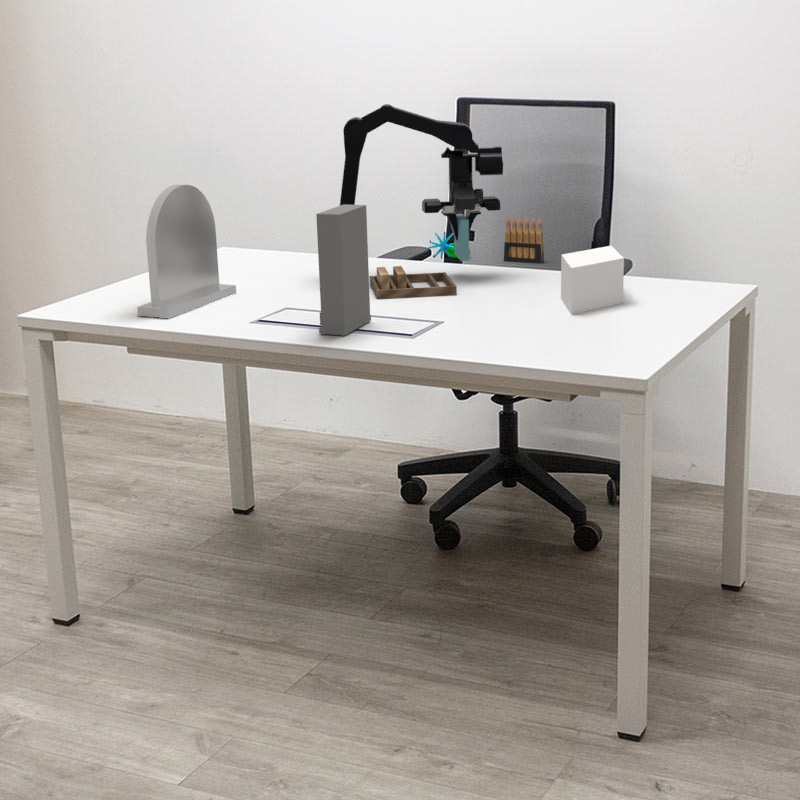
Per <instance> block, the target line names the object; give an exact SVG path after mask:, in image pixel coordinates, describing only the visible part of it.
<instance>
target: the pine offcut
mask: <svg viewBox="0 0 800 800" xmlns="http://www.w3.org/2000/svg"><path fill="white" fill-rule="evenodd" d="M389 275H390V273H389V272H388V270H387V268H386V267H385V266H378V267H376V276H377V285H378V287H379V289H380V290H384V289H390V285H389Z"/></svg>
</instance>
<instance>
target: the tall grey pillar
mask: <svg viewBox="0 0 800 800" xmlns="http://www.w3.org/2000/svg"><path fill="white" fill-rule="evenodd" d="M315 214H316V232H317V233H316V234H317V257H318V275H319V277H318V278H319V295H320V312H319V326H320V327H319V328H318V333H319V334H320V335H322V336H324V335H333V336H334V335H335V336H341V337H346V336H347V335H349V334H350V333H352V332H354V331H355V330H357V329H358V328H360V327H362V326H364V325H365V324H367V323H370V321H372V315H371V306H370V305H371V304H370V303H371V302H370V275H369V274H370V272H369V246H368V244H369V243H368V220H367V219H368V217H367V216H368V215H367V204H355V205H345V204H343V205H341V206H340V205H338V206H335V207H333V208H329V209H327V210H324V211H321V212H318V213H315Z"/></svg>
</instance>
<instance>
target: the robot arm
mask: <svg viewBox="0 0 800 800" xmlns="http://www.w3.org/2000/svg"><path fill="white" fill-rule="evenodd" d="M386 123H390V124H394V125H397V126H399V127H403V128H407V129H410V130H413V131H417V132H420V133H423V134H426V135H430V136H432V137H435V138H436V139H438V140H441V141H442V142H444V143H446V144H448V145H450V146H452V147H453V148H455V150H453V149H450V148H449V146H447V147H446V149H445V150H444V151H443V152H442V153H441V154H440V157H441V158H442V159H448V193H449V194H448V196H449V197H448V201H441V200H440V199H439V198H424V199H422V202H421V211H422V212H423V213H425V214H436V213H437V214H439V212H440V211H441V212H440V213H441V214H442V216H445V217H447V220H448V222H449V225H450V227H451V230H452V233H453V237H454V236H455V239H456V240H458V231H457V223H456V214H457V213H456V212H455V210H456V211H457V212H458V211H463V210H464V211H465V217H466V218H467V219H468V220H469V233H470V231H471V228H472V226H473V223H474V221H475V219H476V217H477V216H479V215H482V212H481V208H485V209H486V210H487V211H488V212H489V211H500V210H501V200H500V199H499V198H498V197H496V196H495V195H493V196H492V195H491V196H490V195H489V196H488V195H487V196H484V190H483V188H475V189H474V186H473V158H474V172H477V173H479V176H503V174H504V173H503V172H504V160H503V149H502V146H493V147H479V144H478V143H476V142H475V140H474V139H473V132H472V130H471V128H470V126H469V125H467V124H465V123H463V122H459V121H458V122H457V121H450V120H448V121H447V120H440V119H439V120H438V119H433V118H431V117H429V116H428V117H427V116H425V115H421V114H418V113H414V112H412V111H408V110H406V109H405V110H404V109H401V108H397V107H395V106H393V105H391V104H387V103H386V104H385V103H384V104H382V106H380V107H379V108H377V109H375V110H373V111H372V112H370V113H367V114H366V115H364V116H362V117H357V116H355V117H351V118H350V119H348V120H347V122H346V123H345V124H344V127H343V129H342V130H343V146H344V165H343V173H342V174H343V175H342V180H341V181H342V183H341V191H340V192H341V193H340V198H339V199H340V200H339V206H341V205H343V204H345V205H356V198H357V197H356V196H357V187H358V179H359V172H360V161H361V155H362V154H363V153H362V152H363V149H364V146H365V143H366V139H367V136H368V134H369V133H371V132H372V131H374V130H376V129H378V128H379V127H381V126H383V125H384V124H386ZM464 150H466V151H468V152H469V153H464Z"/></svg>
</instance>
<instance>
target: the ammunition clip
mask: <svg viewBox="0 0 800 800" xmlns="http://www.w3.org/2000/svg"><path fill="white" fill-rule="evenodd" d="M530 221H531V222H530ZM530 221H529V219H528V216H525V219H524V223H523V218H522V216H519V218H518V223H517V219H516V216H515V215H513V216H512V220H511V217H510V215H507V216H506V219H505V231H504V244H503V245H504V247H503V248H504V249H503V261H504V262H507V263H508V262H513V263H523V264H524V263H525V264H540V265H541V264H544V263H545V257H544V255H545V253H544V241H543V238H544V236H543V228H542V227H543V225H542V220H541V217H540V216H539V217H538V219H537V223H536V220H535V217H534V216H532V217H531V220H530ZM511 222H512V223H511ZM536 224H537V225H536ZM511 225H512V226H511Z"/></svg>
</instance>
